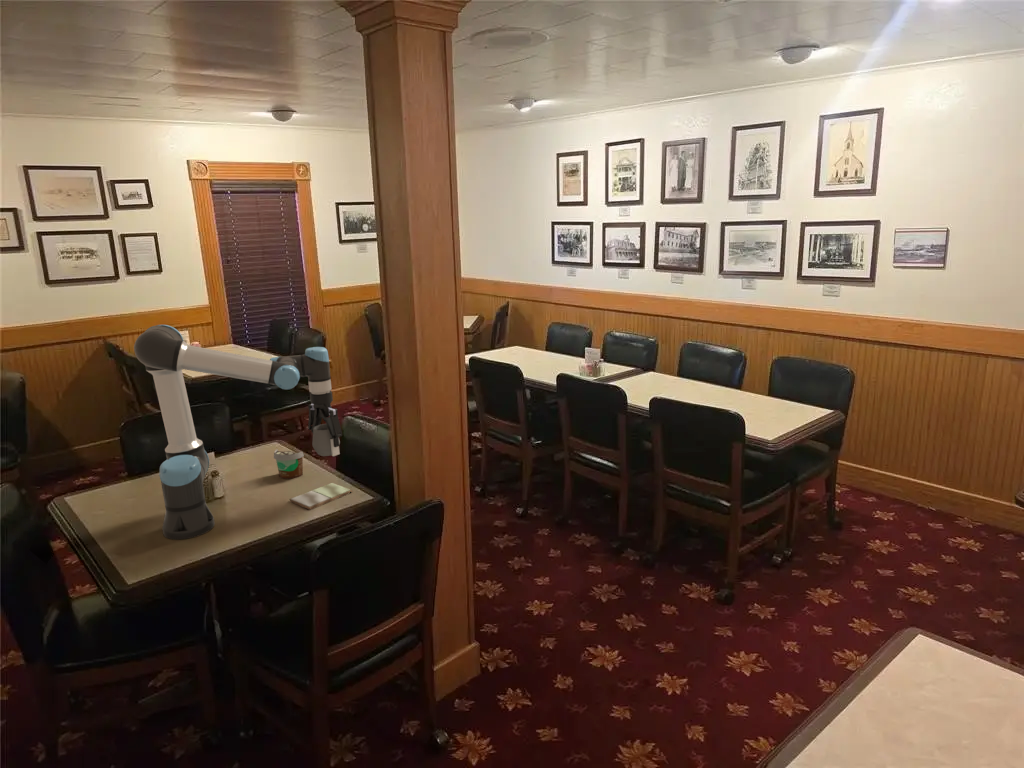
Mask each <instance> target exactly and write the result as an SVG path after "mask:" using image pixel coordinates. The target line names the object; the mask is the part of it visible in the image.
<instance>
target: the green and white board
mask: <svg viewBox="0 0 1024 768" xmlns="http://www.w3.org/2000/svg"><path fill="white" fill-rule="evenodd" d="M350 492H352V493H353V490H351V488H348V487H344V486H342V485H339V484H336V483H334V482H331V483H328V484H326V485H322V486H320V487H318V488H314V489H312V490H310V491H308V492H305V493H301V494H299V495H296V496H294V497H291V498H290V499H289V502H291V503H292V504H295V505H298V506H300V507H302V508H303V509H308V510H314V509H315V508H319V507H321V506H323V505H327V504H328V503H330V502H333V501H335V499H336V500H337V498H338V499H340V498H342V496H343V497H345V496H347V495H346V494H348V493H350ZM350 494H351V493H350ZM344 495H345V496H344ZM348 495H349V494H348ZM339 497H340V498H339Z"/></svg>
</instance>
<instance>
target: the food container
mask: <svg viewBox="0 0 1024 768" xmlns="http://www.w3.org/2000/svg"><path fill="white" fill-rule="evenodd" d="M304 456H305V455H304V453H303V451H299V452H294V451H279V449H278V448H277V449H276V448H275V450H274V452H273V459H275V462H276V466H277V470H278V476H279V478H280V479H283V480H284V479H286V480H291V479H297V478H299V477H302V476H303V468H304V467H303V465H304V464H303V463H304V462H303V458H304Z"/></svg>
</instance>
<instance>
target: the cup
mask: <svg viewBox="0 0 1024 768" xmlns="http://www.w3.org/2000/svg"><path fill="white" fill-rule="evenodd" d="M330 438H331V434H330V432H329V429H328V427H327V424H326V423H322V424H320V425H318V426H315V427H314V428H313V433H312V448H313V450H314V451H315V452H316V454H317V455H318V456H321V457H329V456H330V457H331V456H332V451H331V441H330ZM340 444H341V441H340V439H339V445H340Z"/></svg>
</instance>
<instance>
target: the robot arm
mask: <svg viewBox="0 0 1024 768" xmlns="http://www.w3.org/2000/svg"><path fill="white" fill-rule="evenodd" d="M133 352H134V355H135V357H136V358H137V360H138V361H139V363H141V364H143V365H144V366H145V367H144V368H145V371H146V372H148V373H149V374H150V375H152V378H153V382H154V386H155V391H156V395H157V399H158V403H159V408H160V412H161V416H162V421H163V424H164V429H165V433H166V438H167V442H168V444H167V446H166V447H165V448H164V452H165V457H166V460H164V461H163V462H162V463H161V464H160V466H159V472H158V474H159V479H160V482H161V483H160V485H161V491H162V495H163V501H164V507H165V514H164V519H163V522H162V534H163V536H164V537H165V538H166V539H169V540H185V539H192V538H194V537H198V536H201V535H203V534H206V533H207V532H209V531H211V530H212V529H213V528H214V527H215V525H216V522H215V517H214V515H213V513H212V511H211V510H210V508H209V506H208V505H207V501H206V496H205V489H204V481H205V477H206V474H207V473H208V471H209V467H210V458H209V454H208V453H207V451H206V450H205V447H204V442H203V440H202V439H199V438H198V437H197V433H196V427H195V424H194V420H193V415H192V411H191V407H190V406H191V405H190V402H189V397H188V392H187V388H186V384H185V378H184V374H183V370H185V371H191V372H192V371H193V372H197V373H203V374H210V375H215V376H220V377H221V376H222V377H228V378H233V379H237V380H238V379H239V380H246V381H249V382H250V381H251V382H257V383H261V384H262V383H263V384H269V385H273V386H277V387H278V388H280V389H282V390H291V389H293V388H295V387H296V386H297V385H298V383H299V381H300V379H301V378H305V377H307V378H308V379H307V380H308V391H309V399H310V403H311V404H310V403H309V404H308V405H307V406H308V424H307V429H308V430H309V431H311V433H312V434H313V428H314V427H315V426H318V425H321V423H322V420H323V422H325V424H327V427H328V429H329V432H330V434H331V438H330V441H331V451H332V455H331V456H332V457H336V456H338V455H340V454H341V453H340V444H339V440H340V437H342V436H343V432H342V428H341V423H340V420H339V413H338V409H337V408H332V406H331V405H332V404H331V403H332V402H333V401H334V397H333V391H332V390H333V389H332V381H331V380H332V379H331V377H332V376H331V368H330V357H329V352H328V349H327V348H326V347H324V346H313V347H307V348H305V351H304V354H299V355H287V356H277V357H271V358H270V359H266V358H259V357H254V356H248V355H242V354H237V353H233V352H227V351H222V350H216V349H210V348H206V347H199V346H193V345H188V344H187V342H186V341H184V338H183V335H182V334H181V332H180V331H179V330H178V329H177V328H175V327H173V326H171V325H168V324H157V325H153V326H150V327H149V328H147V329H146V330H145V331H144V332H143V333H141V334H139V336H138V337H137V338H136V340H135V342H134V345H133Z"/></svg>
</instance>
